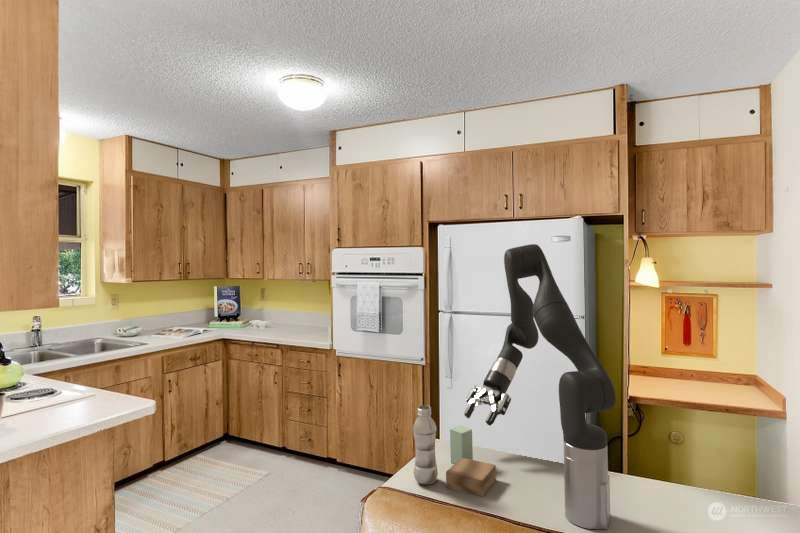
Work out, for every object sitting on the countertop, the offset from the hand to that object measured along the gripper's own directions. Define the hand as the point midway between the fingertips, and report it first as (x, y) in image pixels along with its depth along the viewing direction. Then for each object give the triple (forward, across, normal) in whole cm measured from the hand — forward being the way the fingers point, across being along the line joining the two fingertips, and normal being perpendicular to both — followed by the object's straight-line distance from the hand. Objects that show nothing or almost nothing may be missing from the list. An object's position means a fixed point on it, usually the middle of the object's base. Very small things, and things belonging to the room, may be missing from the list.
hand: (476, 420), depth 136 cm
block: (+13, 0, +3) cm, 13 cm away
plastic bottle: (+24, +2, -8) cm, 25 cm away
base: (+18, +10, -2) cm, 20 cm away
